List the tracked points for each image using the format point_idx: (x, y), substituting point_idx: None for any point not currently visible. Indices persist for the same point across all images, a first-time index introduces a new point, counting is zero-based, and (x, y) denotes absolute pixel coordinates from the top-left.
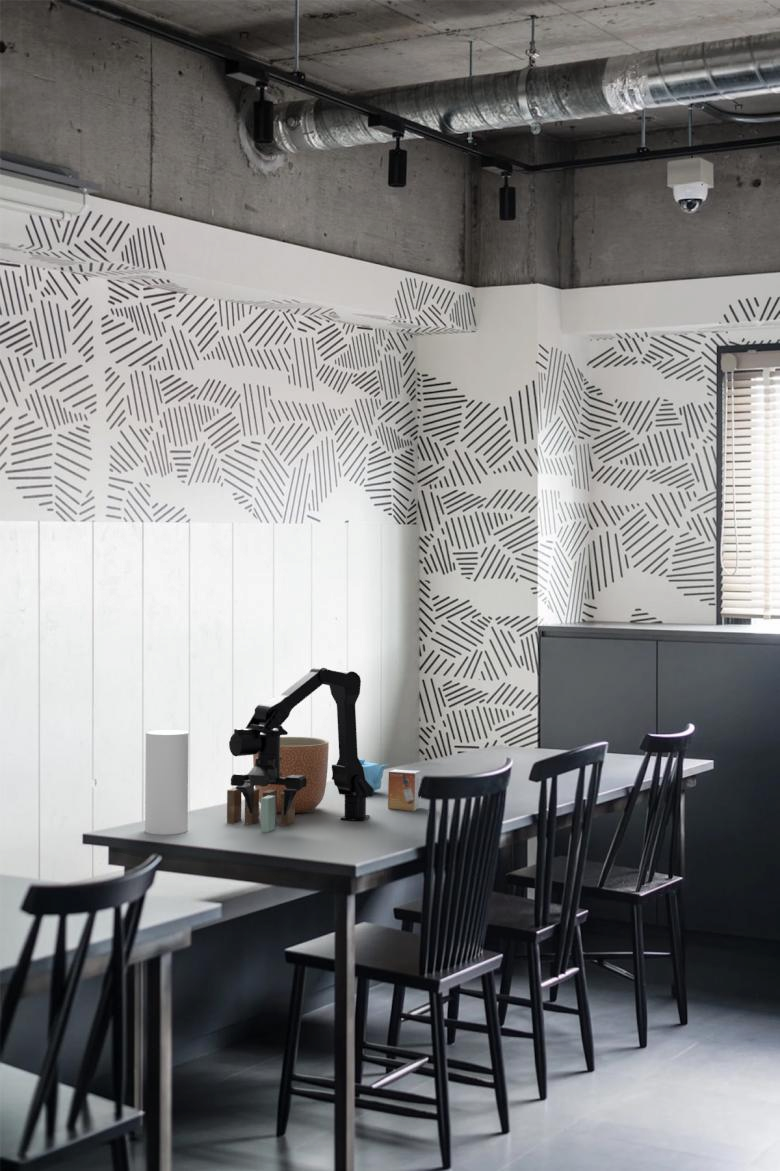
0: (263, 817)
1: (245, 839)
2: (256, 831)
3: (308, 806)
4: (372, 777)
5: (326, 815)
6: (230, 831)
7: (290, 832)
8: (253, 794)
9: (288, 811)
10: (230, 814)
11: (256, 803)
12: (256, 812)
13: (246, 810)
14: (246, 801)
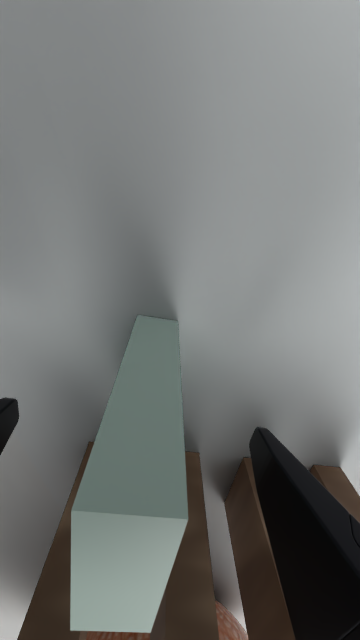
0: (160, 360)
1: (232, 29)
2: (201, 327)
3: None
4: None
5: (35, 582)
6: (333, 307)
7: (24, 329)
8: (299, 634)
9: (64, 515)
10: (348, 500)
11: (250, 584)
12: (239, 531)
13: None
14: (342, 508)
